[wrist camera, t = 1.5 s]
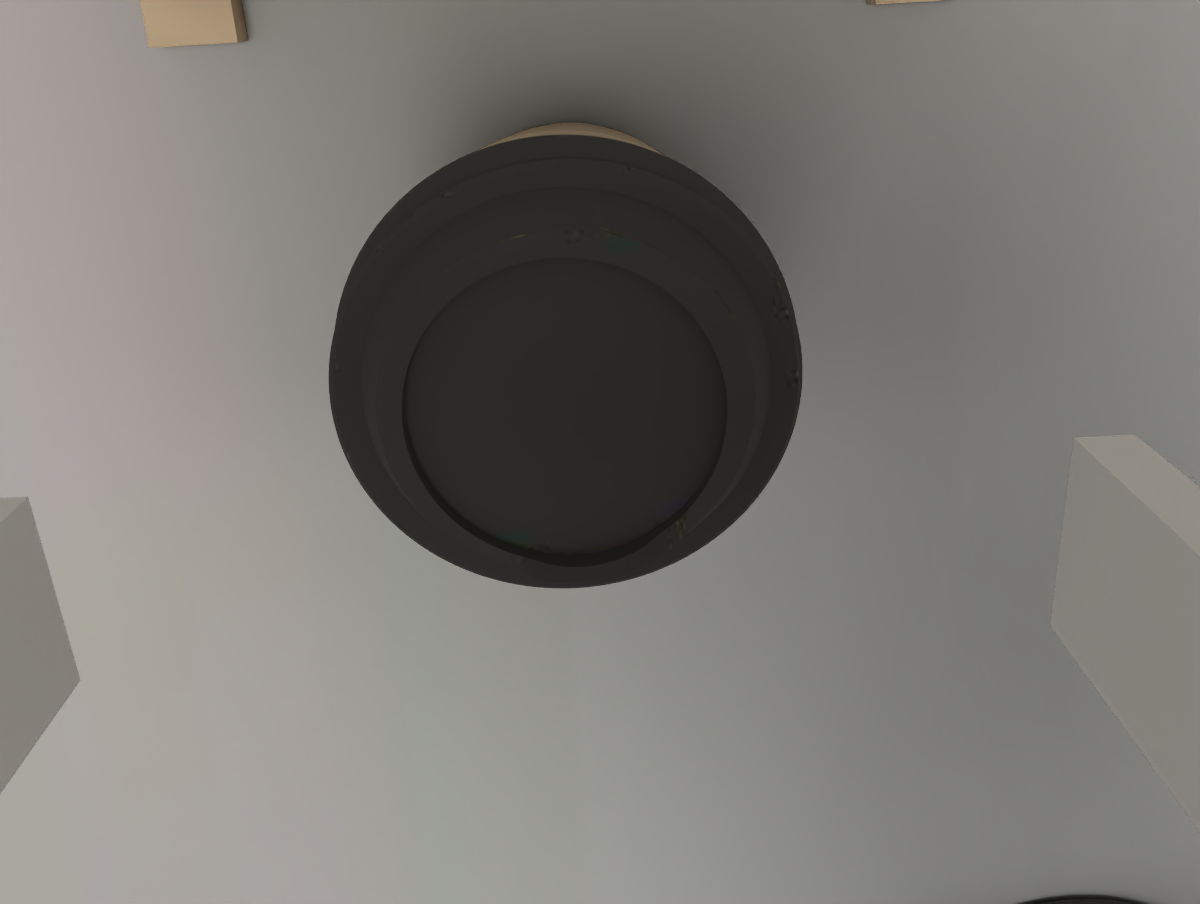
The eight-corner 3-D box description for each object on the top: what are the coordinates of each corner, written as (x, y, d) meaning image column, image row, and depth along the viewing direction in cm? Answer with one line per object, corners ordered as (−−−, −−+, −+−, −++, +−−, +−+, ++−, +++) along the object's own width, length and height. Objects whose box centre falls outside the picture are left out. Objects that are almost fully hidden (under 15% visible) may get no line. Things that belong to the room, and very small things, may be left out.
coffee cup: (382, 116, 32) (230, 219, 18) (694, 48, 31) (785, 99, 17) (462, 407, 35) (386, 681, 21) (744, 349, 35) (853, 593, 21)
